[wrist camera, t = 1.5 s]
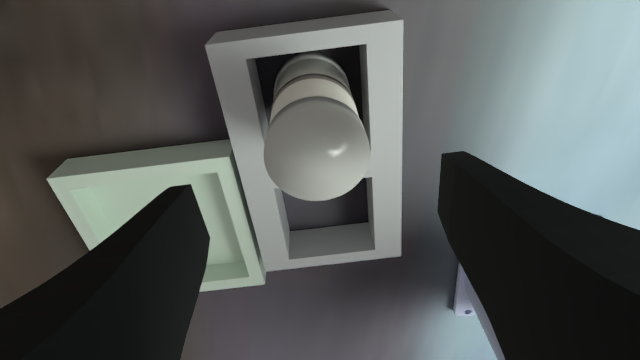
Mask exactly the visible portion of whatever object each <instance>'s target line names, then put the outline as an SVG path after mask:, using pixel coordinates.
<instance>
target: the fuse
mask: <svg viewBox="0 0 640 360" xmlns="http://www.w3.org/2000/svg"><path fill="white" fill-rule="evenodd" d="M370 152H371V151H370V144H369V141H368V137H367V134H366V132H365V129H364V126H363V124H362V121H361V120H360V118H359V115H358V112H357V108H356V105H355V102H354V99H353V97H352V94H351V91H350V86H349V82H348V79H347V76H346V74H345V72H344V70H343V68H342V67H341V66H340V64H339V63H338V62H337V61H336V60H334V59H333V58H332V57H330V56H328V55H326V54H323V53H319V52H304V53H300V54H297V55H295V56H293V57H292V58H290V59H289V60H288V61H286V62H285V63H284V64H283V66H282V67H281V68H280V70H279V72H278V74H277V77H276V80H275V86H274V99H273V104H272V109H271V115H270V124H269V127H268V130H267V134H266V140H265V146H264V164H265V167H266V170H267V173H268V175H269V176H270V178H271V180H272V181H273V182H274V183H275V184H276V186H278V187H279V188H280V189H281V190H282V191H284V192H285V193H287V194H289V195H291V196H293V197H296V198H299V199H302V200H308V201H324V200H330V199H333V198H336V197H339V196H341V195H343V194H345V193H347V192H348V191H350V190H351V189H353V188H354V187H355V186H356V185H357V184H358V183H359V182H360V181H361V179H362V178H363V176H364V175H365V173H366V171H367V169H368V166H369V162H370Z"/></svg>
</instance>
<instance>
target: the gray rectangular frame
mask: <svg viewBox="0 0 640 360" xmlns="http://www.w3.org/2000/svg"><path fill="white" fill-rule="evenodd" d="M354 45H359V52H360V71H361V90H362V109H363V126H364V129H365V132H366V134H367V137H368V141H369V144H370V151H371V152H370V162H369V166H368V169H367V171H366V173H365V175H364V176H363V178H366V185H367V204H368V222H366V223H357V224H349V225H340V226H331V227H323V228H314V229H306V230H297V231H290V229H289V224H288V219H287V214H286V209H285V205H284V200H283V195H282V190H281V189H280V188H279V187H278V186H276V184H275V183H274V182H273V181H272V180H271V178H270V176H269V175H268V173H267V170H266V167H265V164H264V146H265V140H266V134H267V130H268V127H269V126H268V121H267V116H266V111H265V106H264V101H263V96H262V91H261V86H260V82H259V77H258V72H257V67H256V62H255V58H259V57H267V56H275V55H283V54H291V53H299V52H306V51H314V50H322V49H330V48H338V47H346V46H354ZM205 48H206V52H207V56H208V59H209V63H210V67H211V71H212V74H213V78H214V82H215V85H216V89H217V93H218V96H219V100H220V104H221V108H222V111H223V115H224V119H225V122H226V126H227V130H228V133H229V137H230V141H231V145H232V148H233V152H234V156H235V159H236V163H237V167H238V171H239V174H240V178H241V182H242V185H243V189H244V193H245V196H246V200H247V204H248V208H249V211H250V215H251V219H252V222H253V226H254V230H255V234H256V237H257V241H258V245H259V248H260V252H261V256H262V259H263V263H264V267H265V271H266V272H268V271H276V270H285V269H294V268H303V267H311V266H320V265H329V264H338V263H346V262H355V261H364V260H373V259H381V258H390V257H399V256H401V218H402V106H403V19H402V18H400V17H399V16H398V15H397V14H395V13H394V12H393V11H392V10H384V11H376V12H368V13H360V14H353V15H345V16H337V17H329V18H321V19H314V20H306V21H298V22H290V23H283V24H275V25H267V26H259V27H251V28H244V29H236V30H228V31H220V32H216V33H215V34H214V35H213V36H212V37H211V38H210V40H209V41H208V42H207V43H206V44H205Z"/></svg>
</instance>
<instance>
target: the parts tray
mask: <svg viewBox="0 0 640 360" xmlns="http://www.w3.org/2000/svg"><path fill="white" fill-rule="evenodd" d="M47 181H48V183H49V184H50V186H51V188H52V189H53V191H54V193H55V194H56V196H57V198H58V199H59V201H60V202H61V204H62V206H63V207H64V209H65V211H66V212H67V214H68V216H69V217H70V219H71V221H72V222H73V224H74V226H75V227H76V229H77V230H78V232H79V234H80V235H81V237H82V239H83V240H84V242H85V244H86V245H87V247H88V249H89V250H90V251H91V250H92V249H93V248H94V247H96V246H97V245H98V244H100V243H101V242H102V241H103V240H105V239H106V238H107V237H109V236H110V235H111V234H112V233H114V232H115V231H116V230H117V229H119V228H120V227H121V226H122V225H123V224H125V223H126V222H127V221H128V220H129V219H131V218H132V217H133V216H134V215H135V214H137V213H138V212H139V211H140V210H141V209H142V208H144V207H145V206H146V205H147V204H148V203H150V202H151V201H152V200H153V199H154V198H156V197H157V196H158V195H159V194H161V193H162V192H163V191H164V190H166V189H167V188H169V187H171V186H179V185H187V184H191V186H192V189H193V191H194V194H195V197H196V200H197V202H198V205H199V208H200V211H201V214H202V216H203V219H204V222H205V225H206V227H207V230H208V233H209V236H210V244H209V251H208V258H207V265H206V270H205V273H204V277H203V280H202V284H201V287H200V291H199V292H203V291H211V290H220V289H229V288H238V287H247V286H255V285H264V284H265V278H266V271H265V267H264V263H263V259H262V256H261V252H260V248H259V245H258V241H257V237H256V234H255V230H254V226H253V222H252V219H251V215H250V211H249V208H248V204H247V200H246V196H245V193H244V189H243V185H242V182H241V178H240V174H239V171H238V167H237V163H236V159H235V156H234V152H233V148H232V145H231V141H230V139H226V140H218V141H210V142H202V143H193V144H185V145H177V146H169V147H161V148H153V149H144V150H136V151H128V152H120V153H112V154H103V155H95V156H87V157H79V158H71V159H66V160H65V161H64V162H63V163H62V164H61V165H60V166H59V167H58V168H57V169H56V170H55V171H54V172H53V173H52V174H51V175H50V176H49V177H48V178H47Z"/></svg>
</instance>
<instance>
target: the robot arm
mask: <svg viewBox="0 0 640 360" xmlns="http://www.w3.org/2000/svg"><path fill="white" fill-rule="evenodd" d="M438 214H439V217H440V220H441V223H442V226H443V228H444V231H445V234H446V236H447V239H448V241H449V243H450V245H451V247H452V249H453V251H454V253H455V255H456V257H457V259H458V261H459V266H458V274H457V282H456V290H455V298H454V306H453V312H454V314H455V315H456V316H458V317H461V316H470V315H477V317H478V319H479V321H480V323H481V325H482V327H483V329H484V332H485V334H486V336H487V338H488V340H489V342H490V344H491V346H492V349H493V351H494V353H495V355H496V357H497V359H498V360H640V230H637V229H634V228H631V227H628V226H625V225H622V224H619V223H616V222H613V221H610V220H608V219H605V218H603V217H600V216H597V215H595V214H592V213H590V212H587V211H584V210H582V209H579V208H577V207H574V206H572V205H570V204H567V203H565V202H563V201H561V200H558V199H556V198H554V197H552V196H550V195H548V194H545V193H543V192H541V191H539V190H537V189H535V188H533V187H531V186H529V185H527V184H525V183H523V182H521V181H519V180H517V179H516V178H514V177H512V176H510V175H508V174H506V173H504V172H503V171H501V170H499V169H497V168H495V167H493V166H492V165H490V164H488V163H486V162H484V161H482V160H481V159H479V158H477V157H475V156H473V155H471V154H469V153H467V152H464V151H461V152H452V153H444V154H442V158H441V172H440V185H439V198H438ZM209 244H210V236H209V233H208V230H207V227H206V225H205V222H204V219H203V216H202V214H201V211H200V208H199V205H198V202H197V200H196V197H195V194H194V191H193V189H192V186H191V184H187V185H179V186H171V187H169V188H167V189H166V190H164V191H163V192H162V193H161V194H159V195H158V196H157V197H156V198H154V199H153V200H152V201H151V202H150V203H148V204H147V205H146V206H145V207H144V208H142V209H141V210H140V211H139V212H138V213H137V214H135V215H134V216H133V217H132V218H131V219H129V220H128V221H127V222H126V223H125V224H123V225H122V226H121V227H120V228H119V229H117V230H116V231H115V232H114V233H112V234H111V235H110V236H109V237H107V238H106V239H105V240H103V241H102V242H101V243H100V244H98V245H97V246H96V247H94V248H93V249H92V250H91V251H89V252H88V253H87V254H85V255H84V256H83V257H81V258H80V259H79V260H77V261H76V262H74V263H73V264H72V265H70V266H69V267H67V268H66V269H64V270H63V271H61V272H60V273H58V274H57V275H55V276H54V277H52V278H51V279H49V280H48V281H46V282H45V283H43V284H42V285H40V286H38V287H37V288H35V289H33V290H32V291H30V292H28V293H27V294H25V295H23V296H21V297H20V298H18V299H16V300H15V301H13V302H11V303H9V304H8V305H6V306H4V307H3V308H1V309H0V360H180V359H181V354H182V350H183V346H184V342H185V338H186V334H187V331H188V328H189V324H190V321H191V318H192V314H193V311H194V308H195V304H196V301H197V298H198V294H199V291H200V287H201V284H202V280H203V277H204V273H205V270H206V265H207V258H208V251H209Z"/></svg>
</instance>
